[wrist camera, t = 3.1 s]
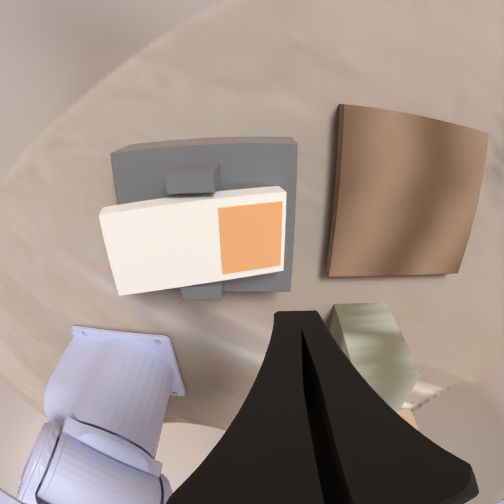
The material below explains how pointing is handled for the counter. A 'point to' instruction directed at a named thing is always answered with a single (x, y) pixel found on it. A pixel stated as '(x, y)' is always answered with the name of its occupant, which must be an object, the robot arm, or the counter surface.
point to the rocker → (195, 238)
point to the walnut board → (402, 193)
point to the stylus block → (376, 349)
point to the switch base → (213, 188)
